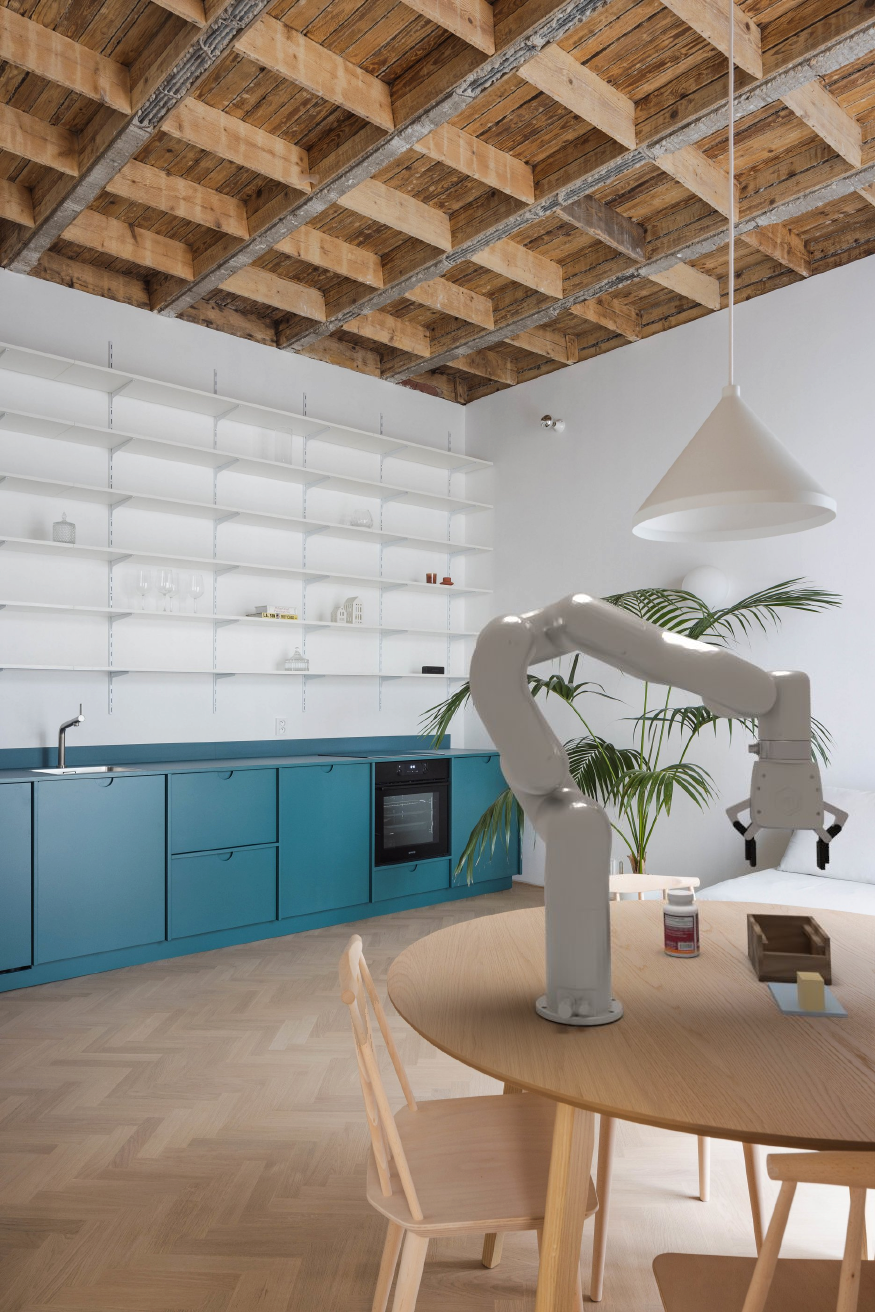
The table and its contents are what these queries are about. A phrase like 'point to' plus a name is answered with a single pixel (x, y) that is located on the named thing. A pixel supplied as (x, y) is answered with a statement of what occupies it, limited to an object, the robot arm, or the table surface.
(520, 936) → the table surface
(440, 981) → the table surface
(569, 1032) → the table surface
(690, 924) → the pill bottle
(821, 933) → the walnut box
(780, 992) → the cover plate
